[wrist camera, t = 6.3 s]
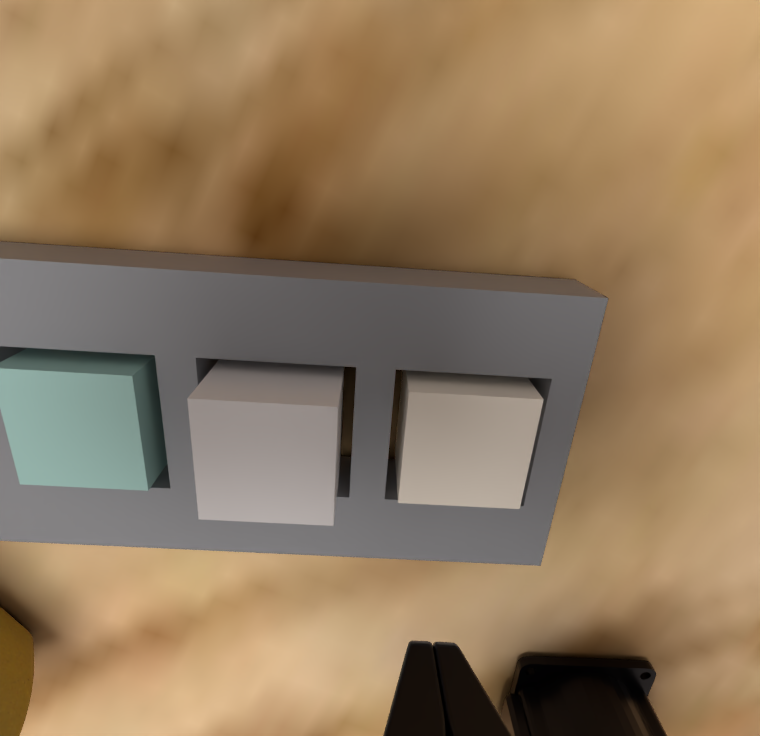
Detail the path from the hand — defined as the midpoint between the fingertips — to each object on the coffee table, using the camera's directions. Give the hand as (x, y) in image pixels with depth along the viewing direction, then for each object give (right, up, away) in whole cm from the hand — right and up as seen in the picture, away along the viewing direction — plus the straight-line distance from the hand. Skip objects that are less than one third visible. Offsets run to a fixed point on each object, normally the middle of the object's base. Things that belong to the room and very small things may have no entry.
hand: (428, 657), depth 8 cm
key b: (-4, +3, +8) cm, 10 cm away
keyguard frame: (-7, +4, +9) cm, 12 cm away
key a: (+2, +3, +9) cm, 10 cm away
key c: (-10, +4, +9) cm, 14 cm away
